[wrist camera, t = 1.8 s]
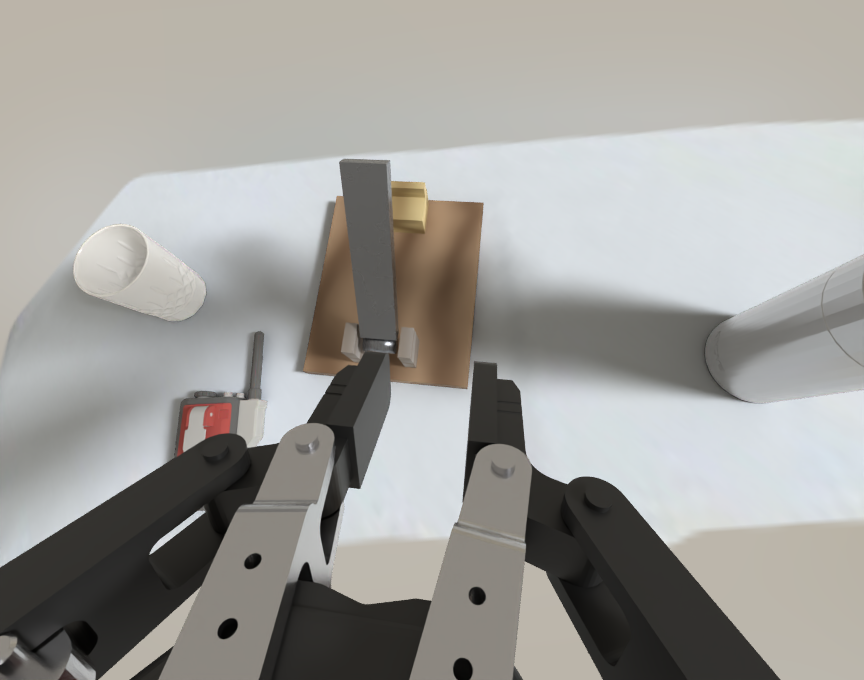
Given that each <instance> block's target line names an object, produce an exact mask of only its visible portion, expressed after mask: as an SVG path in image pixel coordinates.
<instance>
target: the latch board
mask: <svg viewBox="0 0 864 680" xmlns="http://www.w3.org/2000/svg"><path fill="white" fill-rule="evenodd" d="M391 190H392V209H393V229H394V248H395V268H396V287H397V307H398V326H399V335H398V348H397V352H396V354H389V361H390V382H400V383H410V384H421V385H431V386H441V387H451V388H462V389H467V387H468V376H469V364H470V353H471V342H472V330H473V319H474V307H475V296H476V284H477V273H478V262H479V250H480V239H481V227H482V216H483V203H476V202H455V201H433V200H428V196H427V189H426V187H425V183H423V182H399V181H391ZM362 342H363V338H360V330H359V322H358V313H357V305H356V297H355V289H354V280H353V272H352V264H351V255H350V247H349V239H348V231H347V222H346V214H345V206H344V198H343V196H337V199H336V204H335V209H334V214H333V219H332V224H331V230H330V235H329V240H328V245H327V250H326V255H325V261H324V266H323V271H322V276H321V281H320V286H319V292H318V297H317V302H316V307H315V312H314V317H313V323H312V328H311V333H310V338H309V343H308V348H307V354H306V359H305V364H304V369H303V371H304V372H306V373H308V374H319V375H329V376H335V375H336V374H337V373H338V372H339V371H340V370H342V369H343V368H345V367H346V366H347V365H356V366H357V365H358V364H359V362H360V360H361V358H362V356H363V354H364V353H365V352H366V351H363V348H362Z"/></svg>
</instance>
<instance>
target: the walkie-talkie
mask: <svg viewBox="0 0 864 680" xmlns="http://www.w3.org/2000/svg"><path fill="white" fill-rule="evenodd" d="M263 339H264V334H263V332H261V331H258V332H256V333H255V337H254V348H253V360H252V371H251V383H250V389H249V393H248V400H247V399H245V398H246V397H244V393H237V394H236V397H234V396H232V392H224V396H222V397H216V393H215V392H205V391H200V392H196V393H195V395H194V396H195V397H196V398H188V399H184V400H183V401H182V402H181V406H180V414H179V422H178V430H177V437H176V448H175V453H174V455H175V457H177V456H179V455H180V454H182V453H183V452H185V451H187V450H188V449H190V448H191V447H193V446H195V445H196V444H198V443H199V442H201V441H203V440H205V439H207V438H209V437H211V436H214V435H218V434H224V433H232V434H237V435H240V436H242V437H243V438H244V439H245V441H246V444H247V447H248V448H250V447H256V446H257V445H258V443H259V442H260V441H261V439H262V438H263V434H264V420H265V409H266V408H267V401H264V400H261V389H260V384H261V371H262V359H263V355H262V353H263ZM175 457H174V458H175ZM198 511H205V509H204V507H202V508H200V509H199V510H198Z"/></svg>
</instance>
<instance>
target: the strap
mask: <svg viewBox="0 0 864 680" xmlns="http://www.w3.org/2000/svg"><path fill="white" fill-rule="evenodd" d="M339 164H340V173H341V181H342V189H343V198H344V206H345V214H346V222H347V231H348V239H349V247H350V255H351V264H352V272H353V280H354V289H355V297H356V305H357V313H358V322H359V330H360V338H363V342H362V348H363V351H368V352H379V353H388V354H396V352H397V348H398V335H399V326H398V307H397V287H396V268H395V248H394V229H393V209H392V190H391V170H390V160H363V159H343V160H342V161H340V162H339Z"/></svg>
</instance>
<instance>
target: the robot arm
mask: <svg viewBox="0 0 864 680" xmlns="http://www.w3.org/2000/svg"><path fill="white" fill-rule="evenodd" d="M705 358H706V363H707V366H708V368H709V371H710V373H711V375H712V376H713V378H714V379H715V381H716V382H717V383H718V384H719V385H720V386H721V387H722V388H723V389H724V390H726V391H727V392H728V393H730V394H731V395H733V396H735V397H737V398H739V399H741V400H744V401H748V402H752V403H770V402H778V401H785V400H793V399H801V398H809V397H816V396H823V395H830V394H838V393H845V392H852V391H859V390H864V255H861V256H859V257H857V258H855V259H853V260H851V261H849V262H847V263H845V264H843V265H841V266H839V267H837V268H835V269H833V270H831V271H828V272H826V273H824V274H822V275H820V276H818V277H816V278H814V279H812V280H809V281H807V282H805V283H803V284H801V285H799V286H797V287H795V288H793V289H791V290H788V291H786V292H784V293H782V294H780V295H778V296H776V297H774V298H772V299H770V300H767V301H765V302H763V303H761V304H759V305H757V306H755V307H753V308H750V309H748V310H746V311H744V312H742V313H740V314H738V315H736V316H734V317H732V318H730V319H728V320H726V321H724V322H722V323H720V324H719V325H718V326H717V327H716V328H715V329H713V330H712V332H711V334H710V335H709V337H708V339H707V343H706V346H705ZM390 398H391V384H390V361H389V354H388V353H379V352H368V351H366V352H365V353H364V354H363V356H362V358H361V360H360V362H359V364H358V365H357V366H356V365H347V366H346V367H345V368H343V369H342V370H340V371H339V372H338V373H337V374H336V375H335V377H334V379H333V380H332V382H331V384H330V386H329V387H328V389H327V390H326V392H325V394H324V395H323V397H322V399H321V400H320V402H319V404H318V405H317V407H316V409H315V410H314V412H313V414H312V415H311V417H310V419H309V420H308V422H307V423H306V424H303V425H300V426H297V427H295V428H293V429H291V430H290V431H288V432H287V433H286V434H285V435H284V436H283V437H282V439H281V441H280V443H277V444H272V445H265V446H257V447H250V448H248V447H247V444H246V441H245V439H244V438H243V437H242V436H240V435H237V434H232V433H224V434H218V435H214V436H211V437H209V438H207V439H205V440H203V441H201V442H199V443H198V444H196V445H195V446H193V447H191V448H190V449H188V450H187V451H185V452H183V453H182V454H180V455H179V456H177V457H175V458H174V459H172V460H171V461H169V462H168V463H166V464H164V465H163V466H161V467H160V468H158V469H156V470H155V471H153V472H152V473H150V474H148V475H147V476H145V477H144V478H142V479H140V480H139V481H137V482H136V483H134V484H133V485H131V486H129V487H128V488H126V489H125V490H123V491H121V492H120V493H118V494H117V495H115V496H113V497H112V498H110V499H109V500H107V501H105V502H104V503H102V504H101V505H99V506H98V507H96V508H94V509H93V510H91V511H90V512H88V513H86V514H85V515H83V516H82V517H80V518H78V519H77V520H75V521H74V522H72V523H70V524H69V525H67V526H66V527H64V528H63V529H61V530H59V531H58V532H56V533H55V534H53V535H51V536H50V537H48V538H47V539H45V540H43V541H42V542H40V543H39V544H37V545H35V546H34V547H32V548H31V549H29V550H28V551H26V552H24V553H23V554H21V555H20V556H18V557H16V558H15V559H13V560H12V561H10V562H8V563H7V564H5V565H4V566H2V567H1V568H0V680H98V679H99V678H101V677H102V676H103V675H104V674H105V673H106V672H107V671H108V670H109V669H110V668H112V667H113V666H114V665H115V664H116V663H117V662H118V661H119V660H120V659H122V657H124V656H125V655H126V654H127V653H128V652H129V651H130V650H131V649H133V648H134V647H135V646H136V645H137V644H138V643H139V642H140V641H141V640H142V639H144V638H145V637H146V636H147V635H148V634H149V633H150V632H151V631H152V630H153V629H155V628H156V627H157V625H159V624H160V623H161V622H162V621H163V620H164V619H165V618H167V617H168V616H169V615H170V614H171V613H172V612H173V611H174V610H175V609H177V607H179V606H180V605H181V604H182V603H183V602H184V601H185V600H186V599H188V598H189V597H190V596H191V595H192V594H193V593H194V592H195V591H196V590H197V589H198V588H200V587H201V588H200V591H199V593H198V595H197V597H196V599H195V601H194V604H193V606H192V608H191V610H190V612H189V614H188V617H187V619H186V621H185V623H184V626H183V627H182V630H181V632H180V634H179V636H178V638H177V640H176V643H175V645H174V646H173V647H172V648H170V649H169V650H168V651H166V652H165V653H164V654H162V655H161V656H160V657H158V658H157V659H156V660H155V661H153V662H152V663H151V664H149V665H148V666H147V667H145V668H144V669H143V670H142V671H140V672H139V673H138V674H137V675H135V676H134V677H132V678H131V679H130V680H523V679H522V677H521V676H520V674H519V672H518V671H517V669H516V668H515V666H514V658H515V650H516V640H517V630H518V621H519V620H518V619H519V610H520V601H521V591H522V582H523V572H524V562H525V561H526V562H527V563H530V564H532V565H534V566H536V567H538V568H540V569H542V570H544V571H546V573H547V576H548V578H549V580H550V582H551V584H552V586H553V588H554V589H555V591H556V593H557V595H558V597H559V599H560V601H561V602H562V604H563V606H564V608H565V610H566V612H567V614H568V615H569V617H570V619H571V621H572V623H573V625H574V627H575V628H576V630H577V632H578V634H579V636H580V638H581V640H582V641H583V643H584V645H585V647H586V648H587V651H588V653H589V654H590V656H591V658H592V660H593V662H594V663H595V666H596V667H597V669H598V671H599V673H600V675H601V677H602V679H603V680H780V679H779V678H778V676H777V675H776V674H775V673H774V672H773V670H772V669H771V668H770V667H769V666H768V665H767V663H766V662H765V661H764V660H763V659H762V658H761V656H760V655H759V654H758V653H757V652H756V650H755V649H754V648H753V647H752V646H751V644H750V643H749V642H748V641H747V640H746V639H745V637H744V636H743V635H742V634H741V633H740V632H739V630H738V629H737V628H736V627H735V626H734V624H733V623H732V622H731V621H730V620H729V619H728V617H727V616H726V615H725V614H724V613H723V612H722V610H721V609H720V608H719V607H718V606H717V604H716V603H715V602H714V601H713V600H712V599H711V597H710V596H709V595H708V594H707V593H706V591H705V590H704V589H703V588H702V587H701V586H700V584H699V583H698V582H697V581H696V580H695V579H694V577H693V576H692V575H691V574H690V573H689V571H688V570H687V569H686V568H685V567H684V566H683V564H682V563H681V562H680V561H679V560H678V558H677V557H676V556H675V555H674V554H673V553H672V551H671V550H670V549H669V548H668V547H667V545H666V544H665V543H664V542H663V541H662V540H661V538H660V537H659V536H658V535H657V534H656V532H655V531H654V530H653V529H652V528H651V527H650V525H649V524H648V523H647V522H646V521H645V520H644V518H643V517H642V516H641V515H640V514H639V512H638V511H637V510H636V509H635V508H634V507H633V505H632V504H631V503H630V502H629V501H628V499H627V498H626V497H625V496H624V495H623V494H622V493H621V492H620V491H619V490H618V489H617V488H616V487H615V486H613V485H612V484H610V483H608V482H606V481H604V480H601V479H599V478H595V477H579V478H576V479H574V480H572V481H571V482H570V483H569V484H568V485H567V484H565V483H562V482H560V481H557V480H554V479H552V478H550V477H547V476H546V475H544V474H542V473H541V472H539V471H538V470H537V469H536V468H535V467H534V466H533V465H532V464H531V463H530V461H529V459H528V458H527V455H526V451H525V440H524V429H523V418H522V407H521V396H520V390H519V389H518V388H517V386H516V385H515V383H514V382H513V381H512V380H503V379H497V363H488V362H477V361H474V371H473V382H472V393H471V405H470V417H469V429H468V441H467V454H466V466H465V478H464V490H463V505H462V508H461V512H460V516H459V519H458V522H457V523H455V524H454V526H453V528H452V531H451V535H450V538H449V542H448V545H447V549H446V552H445V557H444V560H443V563H442V567H441V570H440V574H439V577H438V580H437V584H436V588H435V591H434V595H433V598H432V601H428V600H422V599H409V600H401V601H393V602H385V603H377V604H367V605H365V604H361V603H359V602H357V601H355V600H353V599H351V598H349V597H347V596H344V595H343V594H341V593H339V592H337V591H335V590H333V589H331V578H332V570H333V565H334V559H335V554H336V549H337V544H338V539H339V534H340V528H341V523H342V518H343V513H344V498H345V496H346V493H347V490H348V488H357V489H360V488H361V485H362V482H363V479H364V477H365V474H366V471H367V468H368V465H369V463H370V460H371V457H372V454H373V451H374V448H375V446H376V443H377V440H378V437H379V434H380V432H381V429H382V426H383V423H384V420H385V418H386V415H387V412H388V409H389V405H390ZM202 507H204V509H205V513H204V514H203V515H202V516H200V517H199V518H198V519H196V520H195V521H194V522H192V523H191V524H190V525H189V526H187V527H186V528H185V529H183V530H182V531H181V532H180V533H178V534H177V535H176V536H174V537H173V538H172V539H170V540H169V541H168V542H167V543H165V544H164V545H163V546H161V547H160V548H159V549H158V550H156V551H155V552H153V553H152V554H150V551H151V549H152V548H153V546H154V545H155V544H156V543H157V542H158V541H159V540H160V539H161V538H162V537H163V536H165V535H166V534H167V533H169V532H170V531H171V530H173V529H174V528H175V527H177V526H178V525H179V524H181V523H182V522H183V521H185V520H186V519H187V518H189V517H190V516H191V515H193V514H194V513H195V512H196V511H198V510H199V509H200V508H202ZM149 554H150V555H149Z"/></svg>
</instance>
